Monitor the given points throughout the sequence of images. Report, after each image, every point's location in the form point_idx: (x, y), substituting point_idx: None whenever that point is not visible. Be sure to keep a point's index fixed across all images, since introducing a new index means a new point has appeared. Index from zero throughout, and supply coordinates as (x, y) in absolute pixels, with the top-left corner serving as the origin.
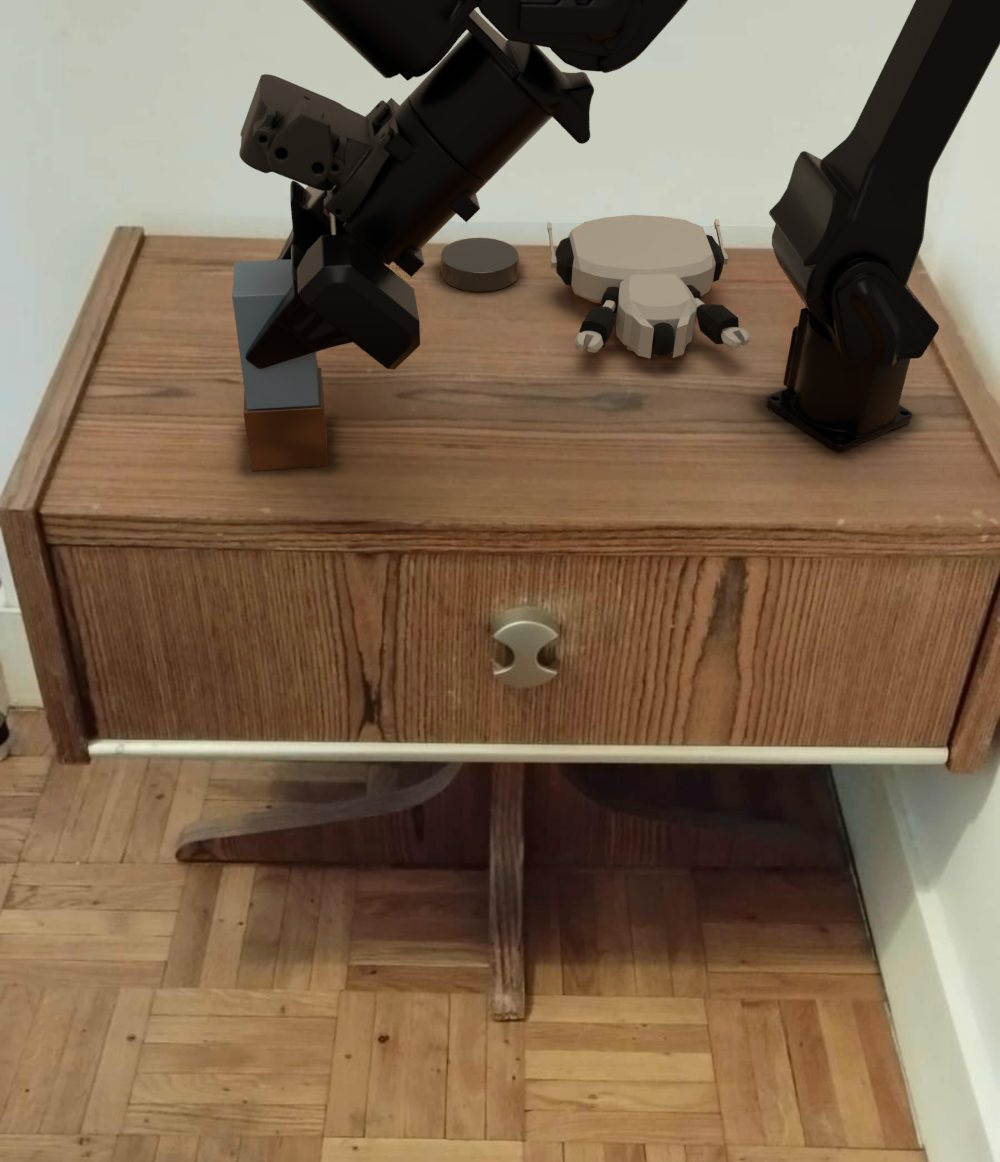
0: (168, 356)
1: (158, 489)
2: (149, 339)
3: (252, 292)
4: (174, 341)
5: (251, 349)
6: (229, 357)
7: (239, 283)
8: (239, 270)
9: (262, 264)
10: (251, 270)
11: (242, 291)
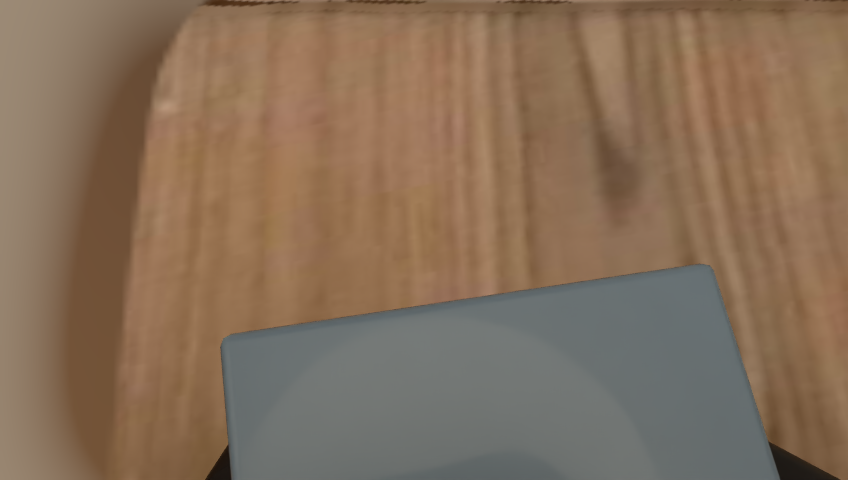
0: (764, 138)
1: (227, 218)
2: (822, 87)
3: (273, 473)
4: (828, 139)
5: (221, 455)
6: (794, 273)
7: (404, 351)
8: (598, 316)
9: (707, 465)
10: (609, 399)
11: (293, 394)
